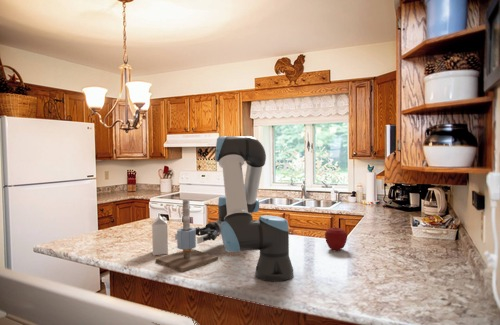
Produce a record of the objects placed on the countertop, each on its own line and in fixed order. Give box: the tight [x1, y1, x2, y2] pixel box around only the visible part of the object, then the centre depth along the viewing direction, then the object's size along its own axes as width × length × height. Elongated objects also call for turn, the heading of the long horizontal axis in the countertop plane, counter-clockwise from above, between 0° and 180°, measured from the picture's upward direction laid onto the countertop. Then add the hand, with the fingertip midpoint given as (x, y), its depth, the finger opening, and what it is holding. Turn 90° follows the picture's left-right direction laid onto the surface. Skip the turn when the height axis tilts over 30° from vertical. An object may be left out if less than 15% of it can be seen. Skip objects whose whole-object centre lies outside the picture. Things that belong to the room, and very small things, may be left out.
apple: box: [324, 226, 348, 252], centre depth 161 cm, size 11×11×12 cm
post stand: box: [155, 198, 219, 273], centre depth 147 cm, size 20×20×28 cm
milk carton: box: [151, 213, 169, 256], centre depth 159 cm, size 7×7×19 cm
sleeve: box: [176, 227, 197, 251], centre depth 147 cm, size 8×8×8 cm
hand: (186, 238), depth 147 cm, fingers open, 13 cm apart
